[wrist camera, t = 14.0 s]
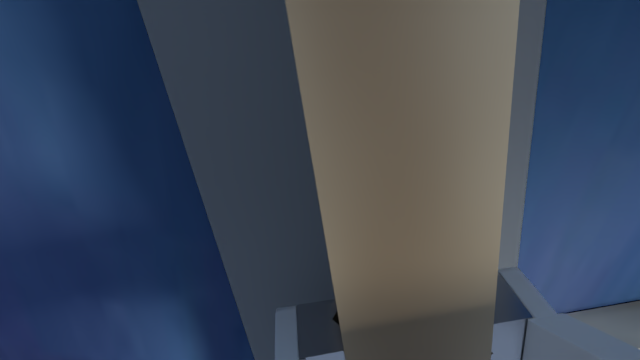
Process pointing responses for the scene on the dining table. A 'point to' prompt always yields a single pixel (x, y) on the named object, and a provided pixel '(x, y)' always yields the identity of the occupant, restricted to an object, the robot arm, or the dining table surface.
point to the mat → (283, 146)
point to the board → (615, 321)
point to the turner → (409, 165)
